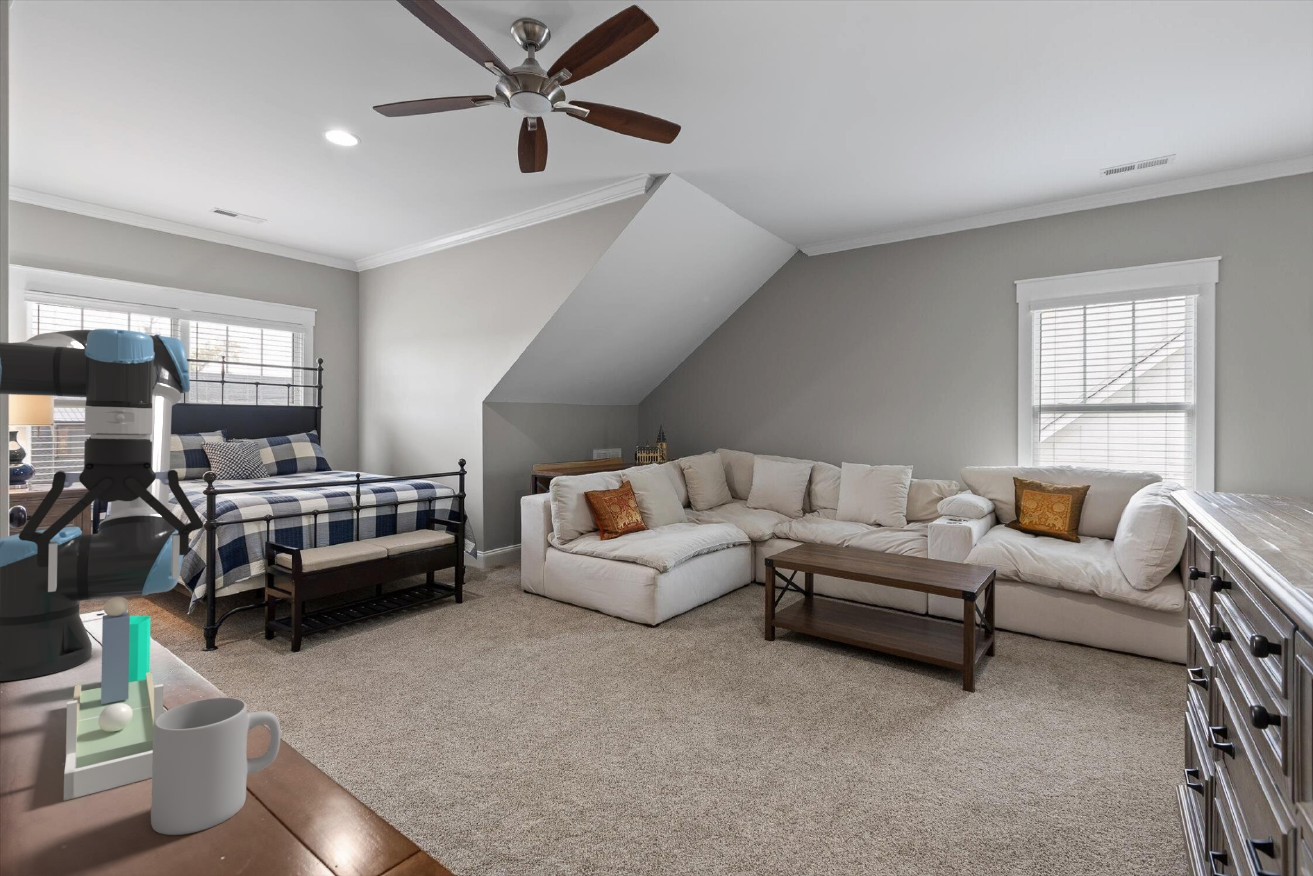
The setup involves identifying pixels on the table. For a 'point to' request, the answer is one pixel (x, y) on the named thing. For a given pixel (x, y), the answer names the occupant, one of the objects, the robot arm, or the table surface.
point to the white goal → (104, 772)
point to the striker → (115, 651)
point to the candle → (139, 647)
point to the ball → (115, 717)
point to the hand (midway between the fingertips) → (116, 583)
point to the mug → (204, 763)
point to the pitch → (122, 743)
